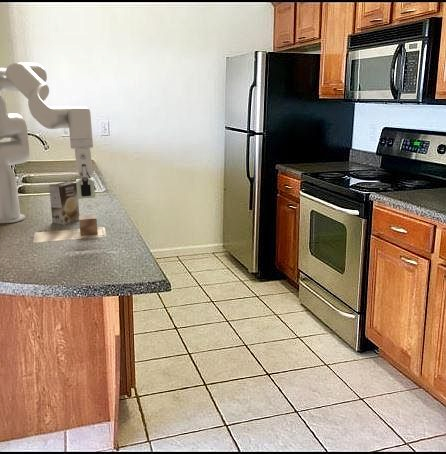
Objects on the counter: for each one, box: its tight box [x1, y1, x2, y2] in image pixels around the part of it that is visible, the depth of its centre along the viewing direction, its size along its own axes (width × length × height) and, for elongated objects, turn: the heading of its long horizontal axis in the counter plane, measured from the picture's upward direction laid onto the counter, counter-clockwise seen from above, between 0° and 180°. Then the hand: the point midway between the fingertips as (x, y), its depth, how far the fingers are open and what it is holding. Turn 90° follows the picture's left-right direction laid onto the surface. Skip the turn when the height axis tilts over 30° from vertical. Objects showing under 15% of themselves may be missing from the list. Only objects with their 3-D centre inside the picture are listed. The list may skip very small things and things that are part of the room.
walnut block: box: [78, 214, 98, 236], centre depth 182 cm, size 6×6×6 cm
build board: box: [32, 226, 107, 244], centre depth 181 cm, size 25×13×1 cm, turn 107°
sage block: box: [75, 177, 96, 200], centre depth 178 cm, size 6×6×6 cm
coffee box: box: [48, 181, 81, 225], centre depth 198 cm, size 9×6×16 cm
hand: (86, 193), depth 179 cm, fingers closed on sage block, 6 cm apart
